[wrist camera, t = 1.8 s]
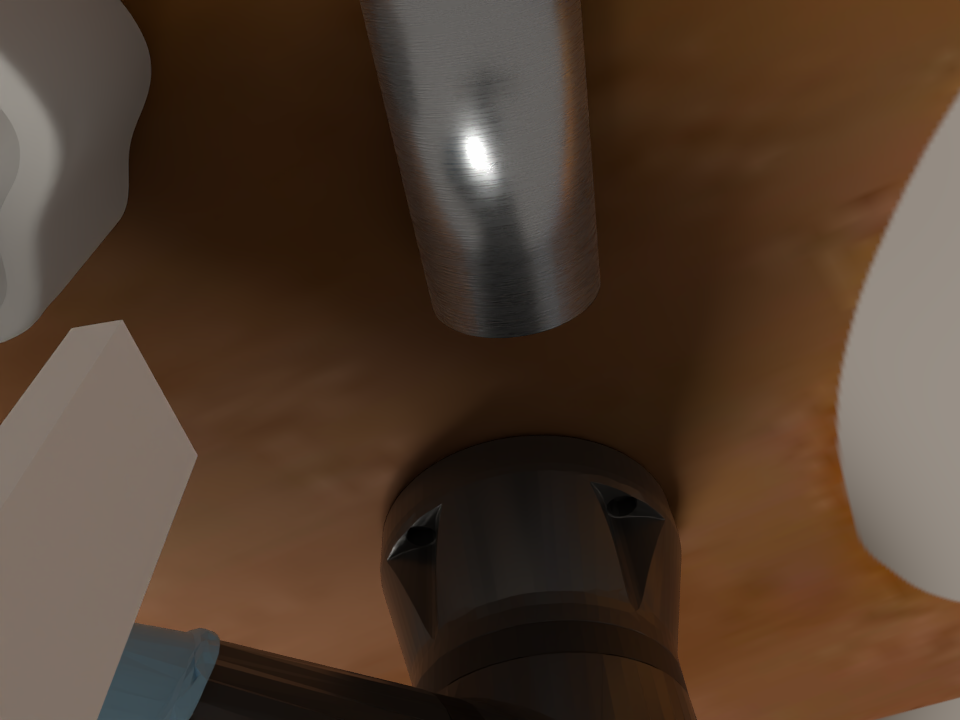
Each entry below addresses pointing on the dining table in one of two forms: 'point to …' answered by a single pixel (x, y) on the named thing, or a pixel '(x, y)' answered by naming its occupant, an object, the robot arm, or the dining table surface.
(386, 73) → the steel roller
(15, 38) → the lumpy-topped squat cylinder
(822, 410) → the dining table surface
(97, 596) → the robot arm
